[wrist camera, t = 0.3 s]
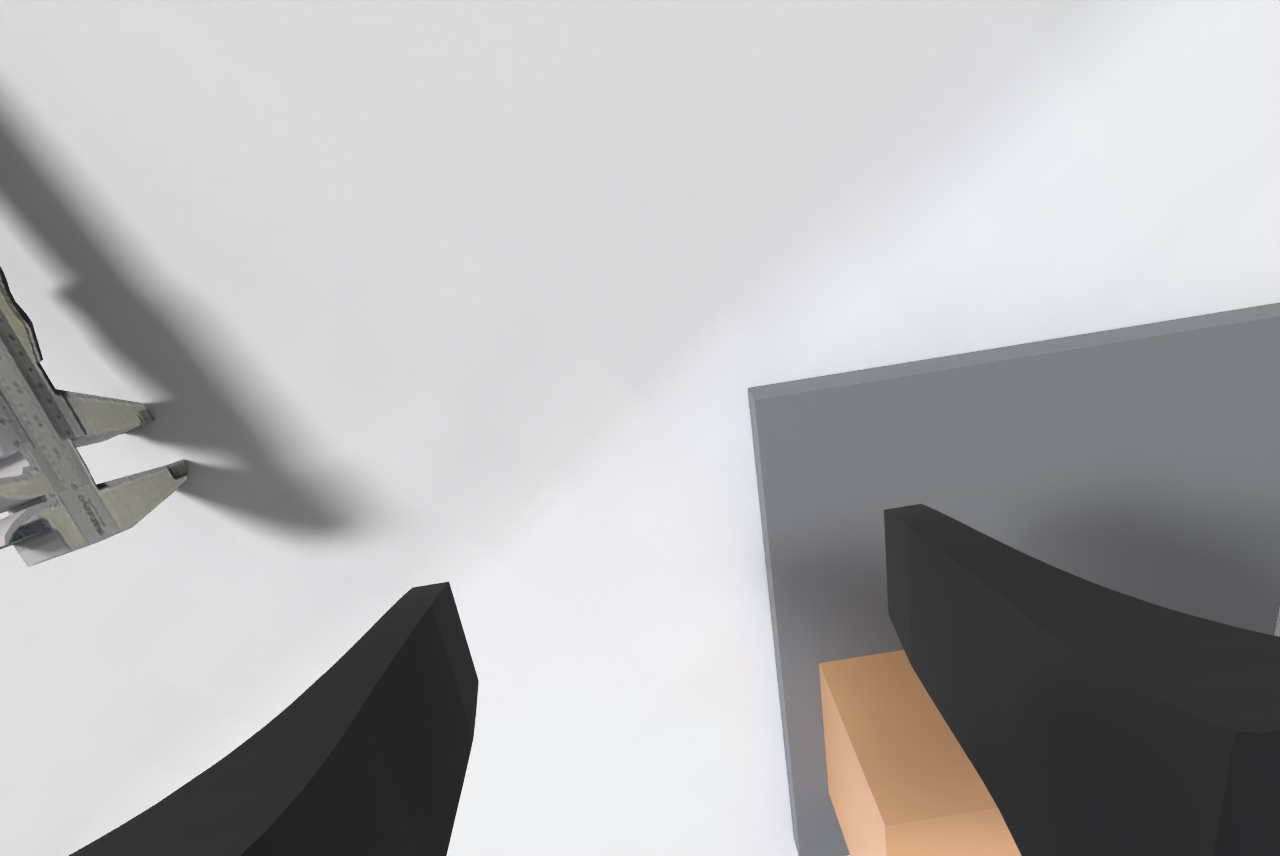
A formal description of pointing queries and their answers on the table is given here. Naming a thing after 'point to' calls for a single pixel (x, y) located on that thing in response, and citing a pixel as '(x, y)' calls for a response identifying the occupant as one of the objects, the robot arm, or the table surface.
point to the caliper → (62, 454)
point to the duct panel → (1019, 490)
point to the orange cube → (901, 767)
